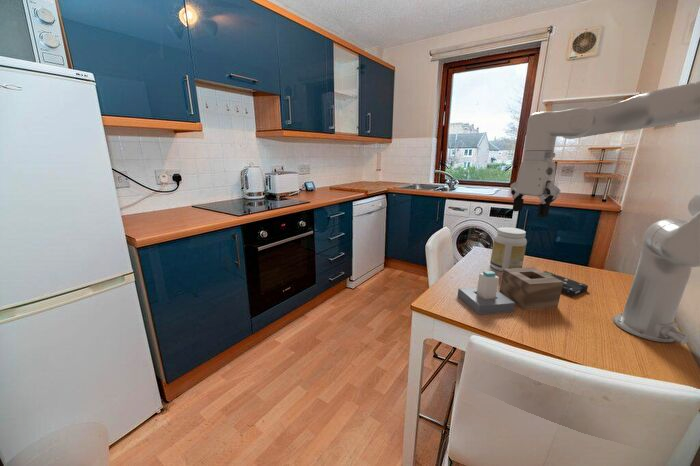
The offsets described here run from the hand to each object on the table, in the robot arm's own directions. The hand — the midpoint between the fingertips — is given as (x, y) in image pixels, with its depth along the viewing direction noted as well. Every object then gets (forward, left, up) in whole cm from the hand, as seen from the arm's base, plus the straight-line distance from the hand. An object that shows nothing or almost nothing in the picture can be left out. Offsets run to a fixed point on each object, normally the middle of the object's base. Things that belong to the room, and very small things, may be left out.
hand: (529, 213), depth 89 cm
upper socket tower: (-1, -4, -29) cm, 30 cm away
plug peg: (-1, +12, -29) cm, 32 cm away
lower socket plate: (-1, +12, -29) cm, 32 cm away
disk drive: (+6, -24, -30) cm, 39 cm away
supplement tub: (+25, -16, -30) cm, 42 cm away
